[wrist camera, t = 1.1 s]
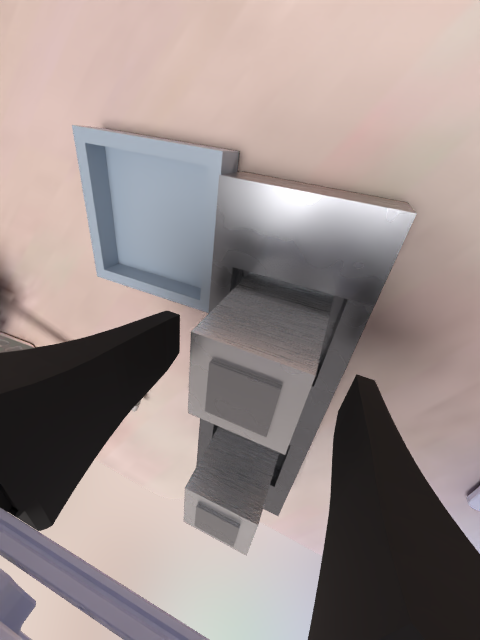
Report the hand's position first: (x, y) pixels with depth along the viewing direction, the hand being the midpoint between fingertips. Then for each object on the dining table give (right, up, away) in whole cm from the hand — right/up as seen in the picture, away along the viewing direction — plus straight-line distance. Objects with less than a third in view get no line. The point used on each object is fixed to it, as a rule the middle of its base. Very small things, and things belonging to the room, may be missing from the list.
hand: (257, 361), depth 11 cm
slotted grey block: (0, -6, +9) cm, 11 cm away
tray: (-5, +7, +4) cm, 9 cm away
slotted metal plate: (+1, -2, +7) cm, 7 cm away
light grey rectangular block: (+2, +2, +3) cm, 4 cm away
